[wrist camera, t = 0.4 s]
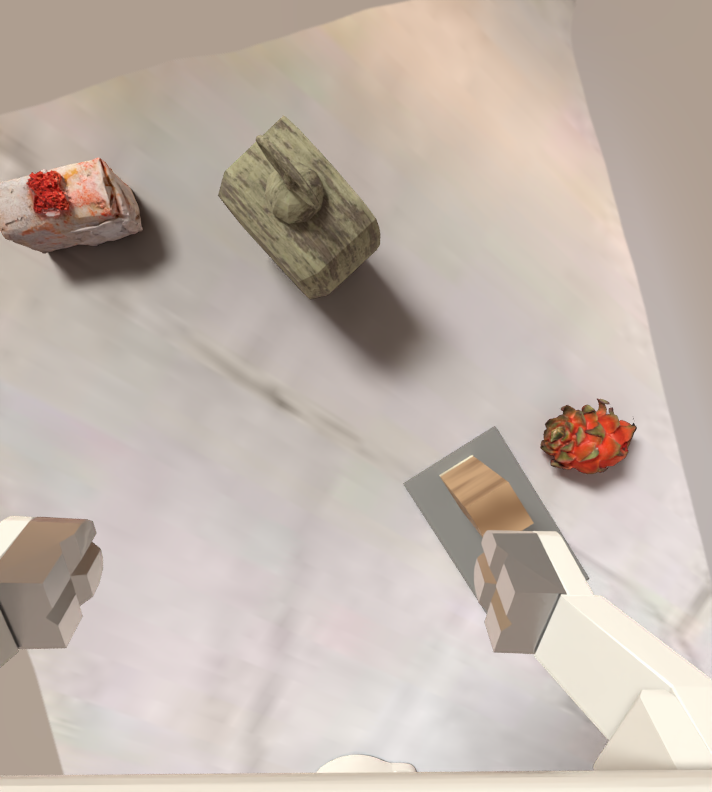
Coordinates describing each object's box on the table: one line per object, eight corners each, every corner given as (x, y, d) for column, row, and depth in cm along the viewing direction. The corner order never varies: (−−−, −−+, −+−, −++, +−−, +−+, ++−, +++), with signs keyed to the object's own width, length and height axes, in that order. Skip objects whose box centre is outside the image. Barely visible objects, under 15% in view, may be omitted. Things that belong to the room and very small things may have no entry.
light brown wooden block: (491, 486, 62) (533, 523, 48) (459, 507, 62) (491, 549, 48) (471, 454, 62) (508, 481, 48) (439, 475, 62) (465, 508, 48)
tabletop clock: (374, 265, 60) (393, 197, 35) (321, 314, 60) (303, 280, 35) (295, 178, 59) (257, 44, 34) (242, 228, 59) (166, 131, 35)
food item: (135, 174, 59) (93, 137, 49) (154, 238, 59) (115, 213, 50) (29, 203, 59) (-35, 171, 49) (48, 266, 59) (-11, 247, 50)
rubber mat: (587, 576, 63) (589, 578, 63) (498, 631, 64) (499, 633, 63) (494, 426, 62) (495, 426, 61) (403, 483, 62) (403, 484, 62)
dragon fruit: (518, 433, 64) (598, 419, 65) (544, 493, 59) (630, 476, 61) (542, 399, 56) (632, 384, 58) (574, 464, 52) (670, 446, 54)
